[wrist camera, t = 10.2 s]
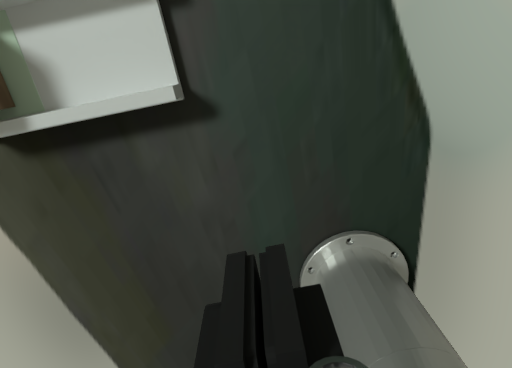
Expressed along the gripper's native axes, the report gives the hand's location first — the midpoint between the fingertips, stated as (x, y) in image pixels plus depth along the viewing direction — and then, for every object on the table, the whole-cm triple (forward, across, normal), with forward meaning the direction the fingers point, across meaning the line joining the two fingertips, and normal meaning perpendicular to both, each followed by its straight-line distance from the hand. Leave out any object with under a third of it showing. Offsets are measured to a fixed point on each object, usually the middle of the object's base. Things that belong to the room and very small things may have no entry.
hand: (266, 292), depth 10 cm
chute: (+26, +16, -11) cm, 33 cm away
